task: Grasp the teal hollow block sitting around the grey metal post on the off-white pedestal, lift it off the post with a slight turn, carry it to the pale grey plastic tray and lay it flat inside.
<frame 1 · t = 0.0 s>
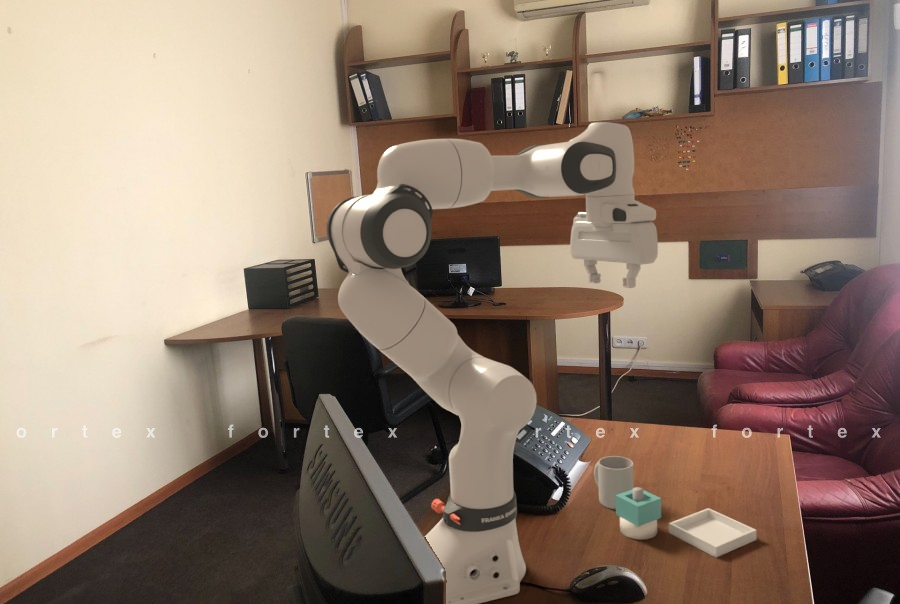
hand: (611, 285, 130), 48 cm above the table, fingers open, 8 cm apart
teal hollow block: (638, 516, 134), point 3 cm above the table, touching peg stand
tray: (711, 536, 131), on the table
peg stand: (638, 530, 134), on the table
cup: (611, 500, 148), on the table
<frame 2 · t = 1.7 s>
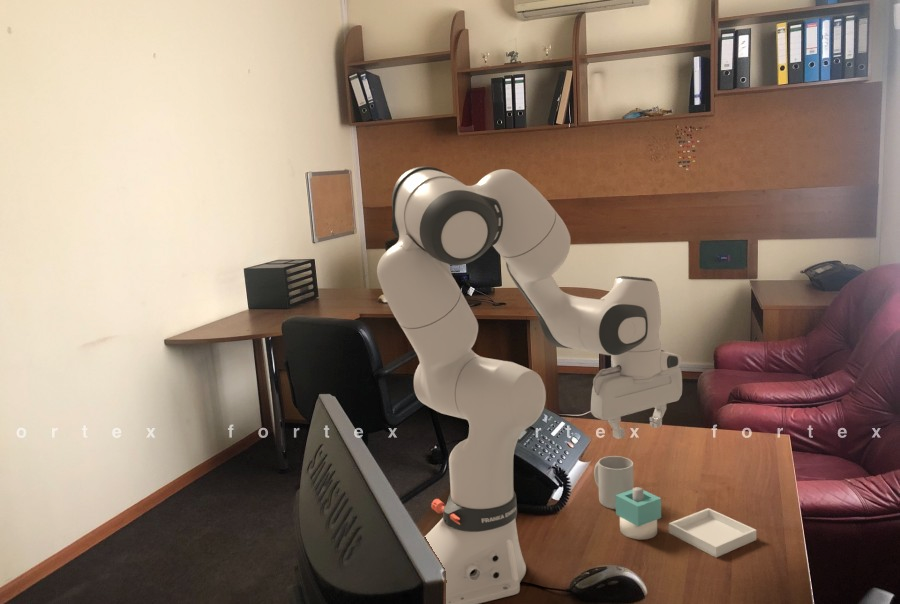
hand: (637, 431, 131), 20 cm above the table, fingers open, 8 cm apart
nothing on the table moved.
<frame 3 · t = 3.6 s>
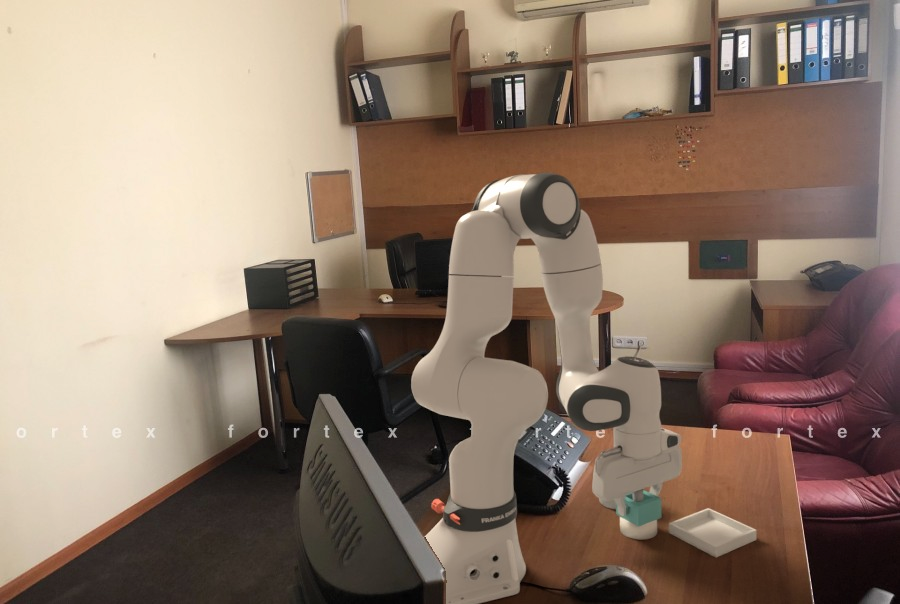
hand: (637, 508, 134), 4 cm above the table, fingers closed on teal hollow block, 6 cm apart
teal hollow block: (638, 516, 134), point 3 cm above the table, touching gripper, peg stand
everything else where it was.
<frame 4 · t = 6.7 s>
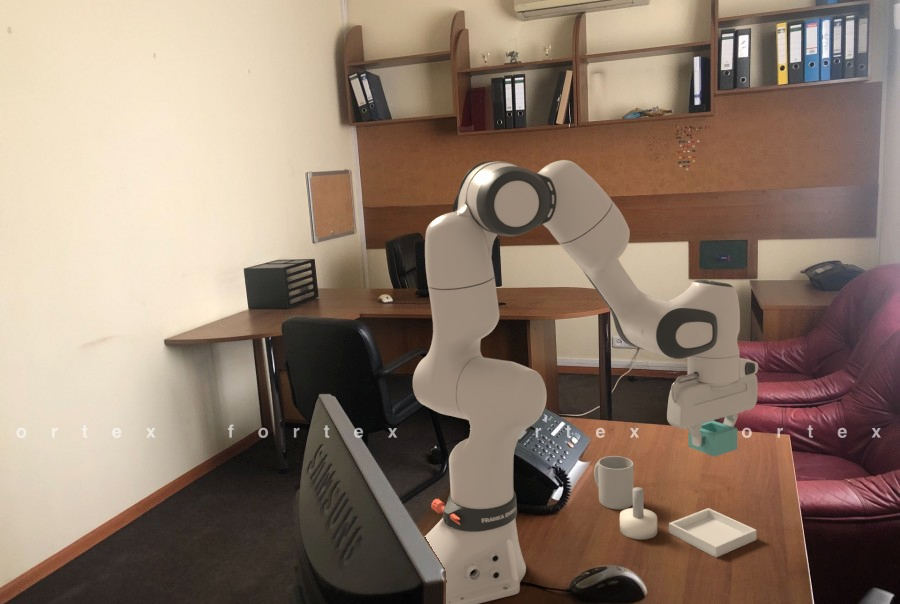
hand: (712, 440, 128), 19 cm above the table, fingers closed on teal hollow block, 6 cm apart
teal hollow block: (712, 448, 128), point 18 cm above the table, touching gripper
everything else where it was.
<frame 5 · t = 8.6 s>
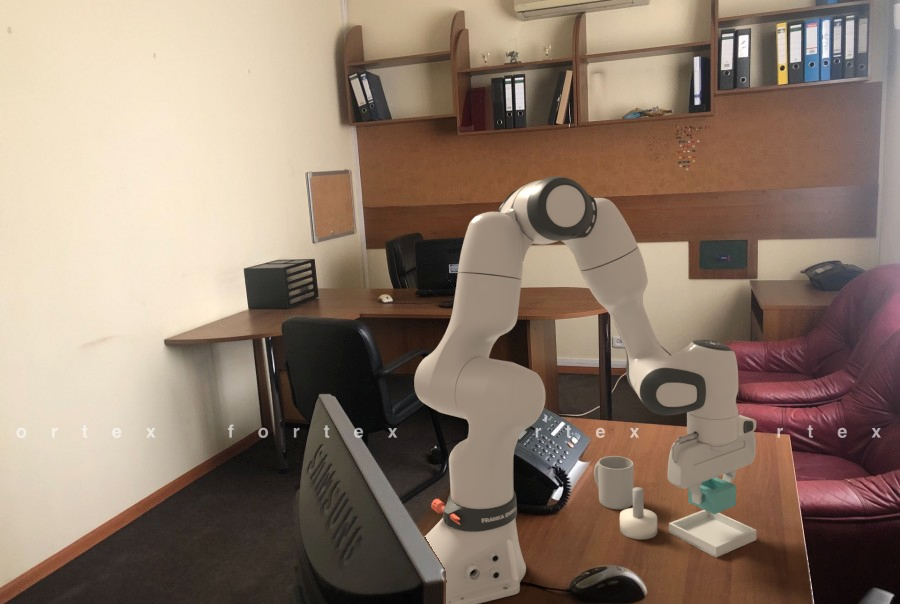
hand: (712, 496, 130), 8 cm above the table, fingers closed on teal hollow block, 6 cm apart
teal hollow block: (711, 503, 130), point 6 cm above the table, touching gripper
everything else where it was.
when the fingers open (4 cm above the table, at t = 10.0 s): teal hollow block drops 2 cm, resting on tray.
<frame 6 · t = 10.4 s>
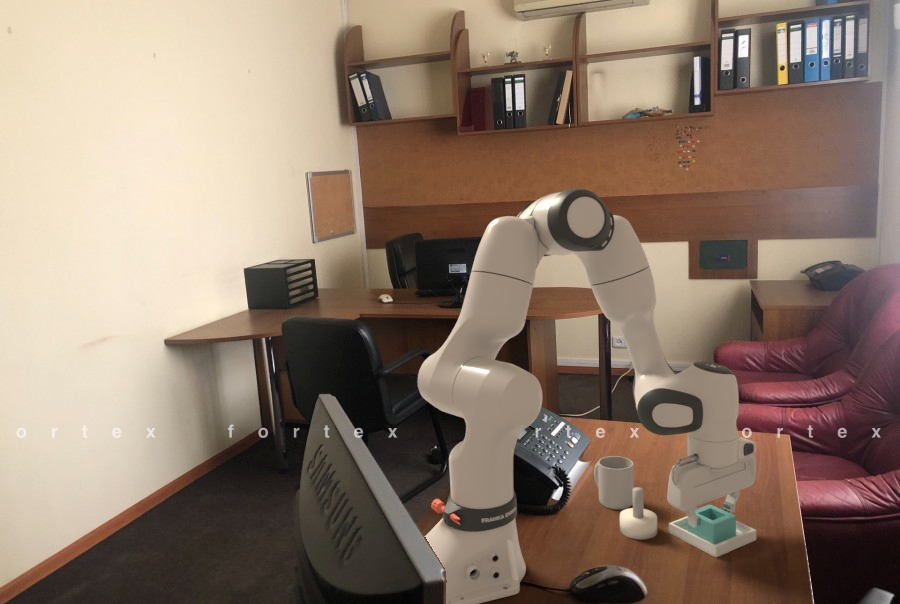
hand: (711, 518, 130), 4 cm above the table, fingers open, 8 cm apart
teal hollow block: (711, 533, 131), resting on tray
everything else where it was.
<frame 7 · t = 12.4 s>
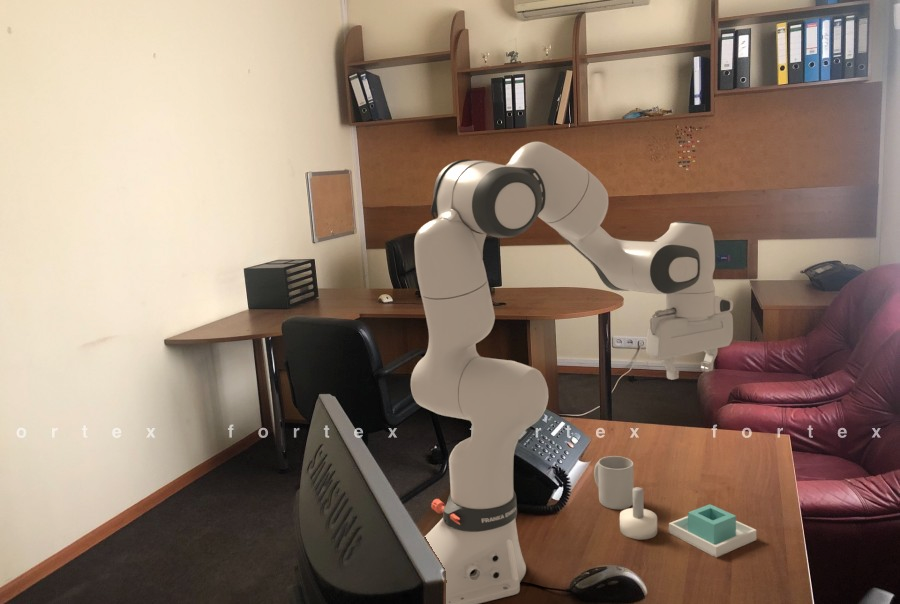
hand: (690, 374, 136), 29 cm above the table, fingers open, 8 cm apart
nothing on the table moved.
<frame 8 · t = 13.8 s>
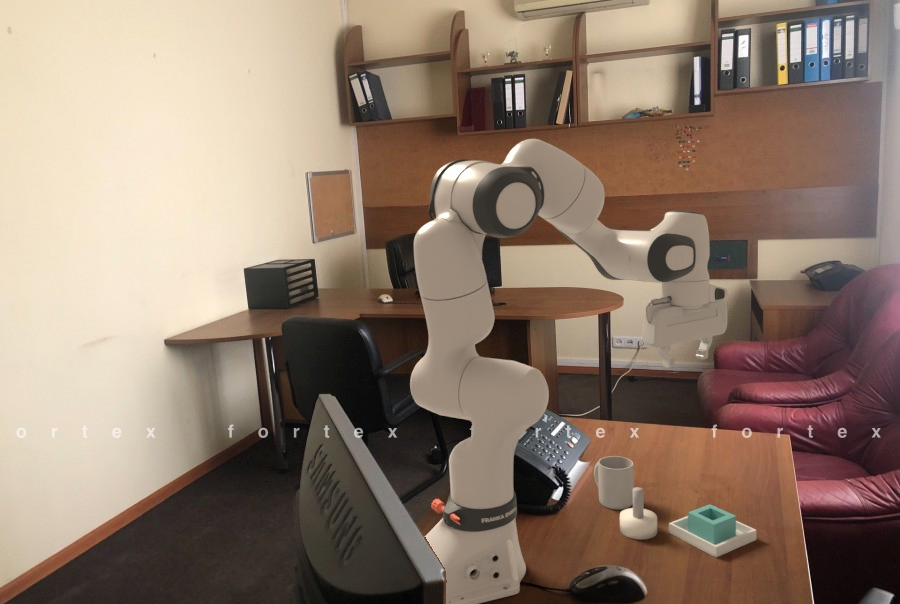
hand: (685, 362, 137), 31 cm above the table, fingers open, 8 cm apart
nothing on the table moved.
at the end: teal hollow block inside the target area on the tray (0.0 cm from its centre), point 0.5 cm above the tray's base; teal hollow block tilted 0°; the gripper is holding nothing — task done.
